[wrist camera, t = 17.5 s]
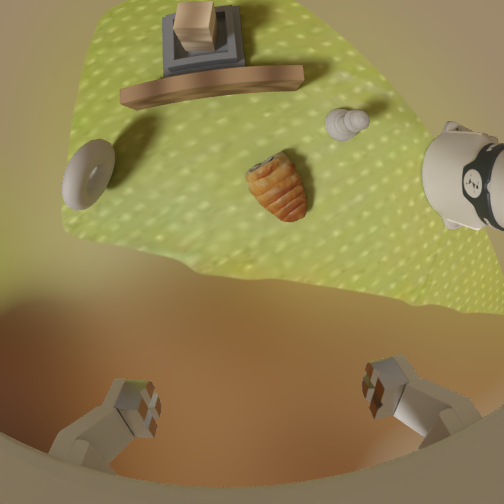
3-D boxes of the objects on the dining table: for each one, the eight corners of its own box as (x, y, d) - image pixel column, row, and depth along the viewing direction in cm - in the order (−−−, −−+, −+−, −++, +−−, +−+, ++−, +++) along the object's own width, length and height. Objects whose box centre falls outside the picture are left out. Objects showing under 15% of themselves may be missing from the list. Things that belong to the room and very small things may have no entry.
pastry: (317, 204, 39) (324, 209, 35) (277, 230, 40) (280, 238, 36) (281, 148, 36) (285, 147, 33) (239, 175, 37) (239, 177, 34)
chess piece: (337, 102, 34) (359, 91, 26) (361, 125, 35) (387, 119, 27) (317, 125, 35) (336, 118, 27) (342, 148, 36) (366, 147, 28)
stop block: (218, 28, 29) (213, 1, 21) (215, 51, 30) (208, 27, 23) (189, 28, 29) (178, 2, 21) (185, 51, 30) (172, 28, 22)
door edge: (294, 77, 33) (302, 65, 27) (295, 91, 33) (304, 80, 28) (136, 97, 33) (119, 89, 27) (137, 110, 33) (120, 104, 28)
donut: (109, 136, 34) (73, 133, 25) (128, 144, 35) (94, 143, 25) (86, 197, 37) (48, 211, 27) (103, 207, 38) (68, 222, 28)
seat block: (239, 8, 28) (238, -1, 26) (245, 70, 32) (245, 63, 29) (164, 20, 28) (158, 11, 26) (165, 81, 32) (159, 76, 29)
